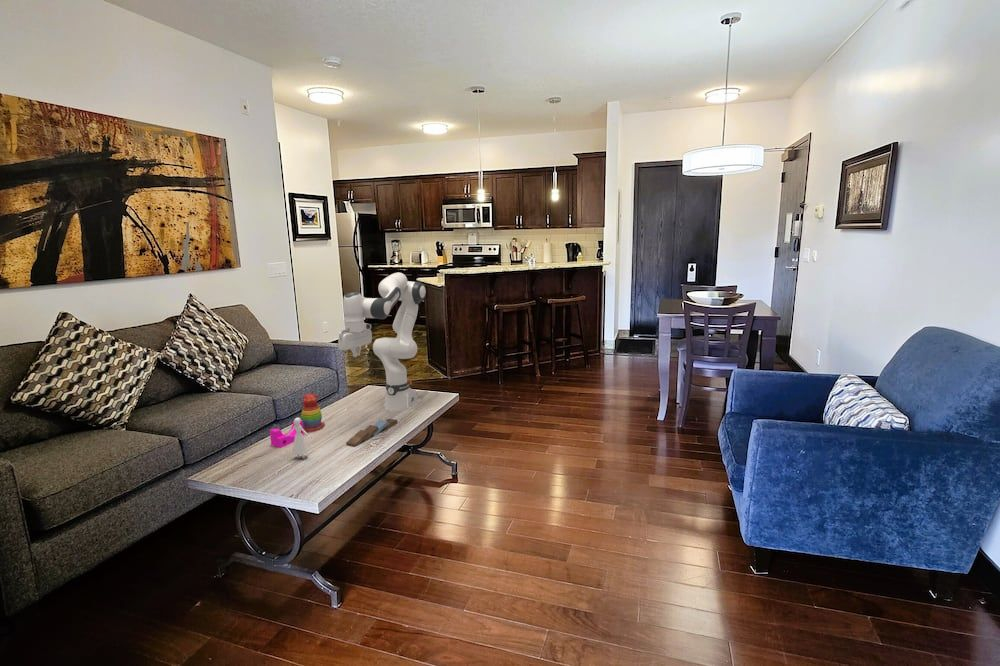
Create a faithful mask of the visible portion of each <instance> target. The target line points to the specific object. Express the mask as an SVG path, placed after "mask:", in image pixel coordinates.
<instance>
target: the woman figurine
mask: <svg viewBox="0 0 1000 666" xmlns="http://www.w3.org/2000/svg"><path fill="white" fill-rule="evenodd" d="M293 421H294V424H295V425H296V426H294V428H293V429H292V430H291V431H290V430H289V431H290V432H289V431H288V432H289V434H290V433H291V432H292V431H293V430H294V429H295V430H296V432H297V433H296V435H295V439H294V442H293V445H292V446H293V447H292V454H293V455H296V456H297V459H299V458H301V457H302V459H305V458H306V456H305V455H307V454H308V451H309V450H308V447H307V445H306V441H305V439H304V435H302V433H301V430H302V431H303V433H304V434H305V435H307V437H309V438H310V439H312V437H311V435H310V434H309V433H308V432H306V431H305V430H304V429H303V428H302V426H301V425H300V424H299V423H300V421H301V418H300V417H295V418H294V420H293ZM289 434H288V435H289ZM288 435H287V436H288ZM287 436H286V437H287Z"/></svg>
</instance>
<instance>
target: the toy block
mask: <svg viewBox="0 0 1000 666" xmlns="http://www.w3.org/2000/svg"><path fill="white" fill-rule="evenodd" d="M299 424H300V425H301V426H302V428H303V423H302V420H301V421H300V423H299ZM294 426H296V425H295V424H294V420H293V422H292V426H291V428H290V429H289V430H288V432H286V433H283V432H282V430H281V429H279V428H273V429H270V430H269V435H270V436H269V437H270V445H271V447H276V448H280V449H282V448H284V447H286V446H288V445H290V444H294V439H295V435H296V433H297V432H296V430H295V429H294V430H293V431H292V432H291V433H290V434H289V432H290V431H291V430H292V429H293V428H294ZM301 433H302V435H303V436H304V435H305V433H304V432H303V431H302V430H301ZM288 434H289V435H288ZM287 435H288V436H287ZM286 436H287V437H286Z"/></svg>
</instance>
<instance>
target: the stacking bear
mask: <svg viewBox="0 0 1000 666" xmlns="http://www.w3.org/2000/svg"><path fill="white" fill-rule="evenodd" d="M318 400H319V399H318V394H316V393H315V394H311V393H308V394H307V395H306V394H304V395H303V396H302V402H303V405H304V406H303V407H302V410H301V418H300V419H301V420H302V423H303V429H304V430H305V431H306V433H314V432H318V431H320V429H321V430H322V429H324V428H325V426H326V423H325V422H324V421H322V420H323V419H322V418H323V417H322V416H323V414H322V411H321V408H320V406H319V405H318Z"/></svg>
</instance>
